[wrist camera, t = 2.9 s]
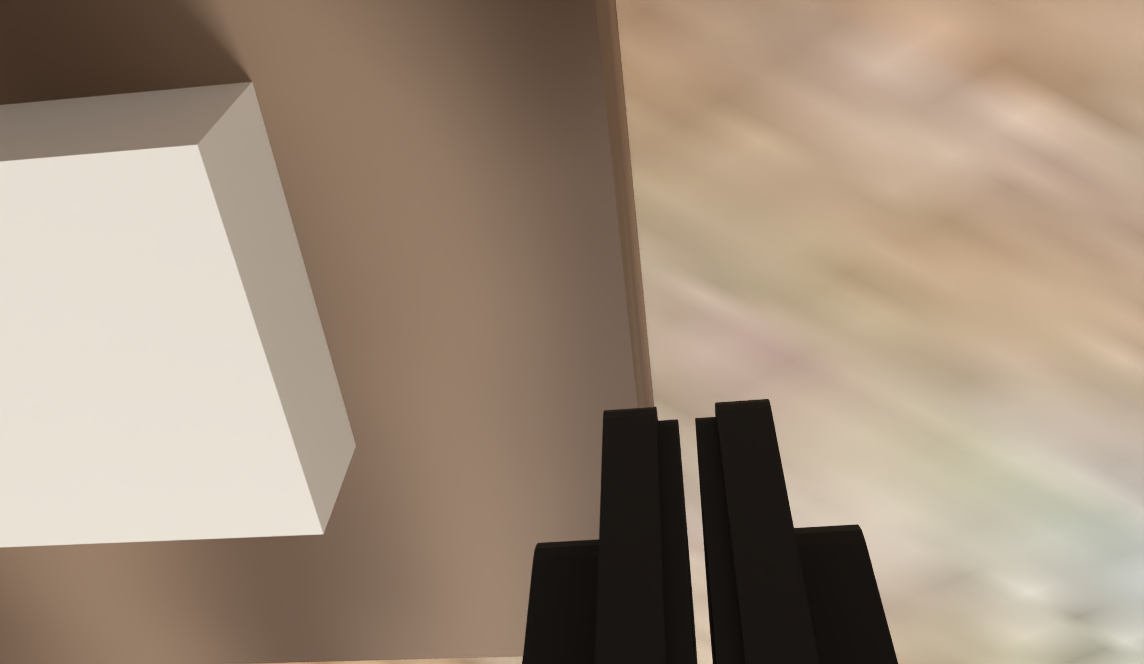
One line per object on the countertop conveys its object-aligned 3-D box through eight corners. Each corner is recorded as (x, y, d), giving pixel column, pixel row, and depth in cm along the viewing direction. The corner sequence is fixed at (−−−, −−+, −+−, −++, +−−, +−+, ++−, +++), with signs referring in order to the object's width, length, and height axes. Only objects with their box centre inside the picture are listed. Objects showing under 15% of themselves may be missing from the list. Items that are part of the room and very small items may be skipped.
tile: (252, 81, 14) (197, 144, 12) (356, 445, 17) (323, 534, 16) (-306, 133, 15) (-426, 197, 13) (-109, 469, 18) (-186, 554, 17)
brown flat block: (575, -429, 14) (548, -443, 11) (662, 500, 23) (663, 652, 19) (-323, -299, 16) (-587, -275, 12) (77, 525, 24) (-15, 670, 21)
